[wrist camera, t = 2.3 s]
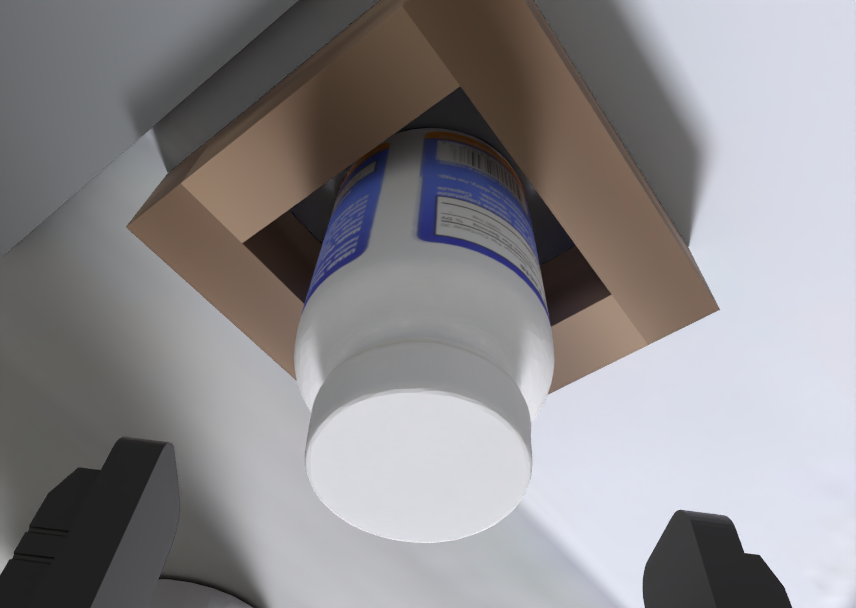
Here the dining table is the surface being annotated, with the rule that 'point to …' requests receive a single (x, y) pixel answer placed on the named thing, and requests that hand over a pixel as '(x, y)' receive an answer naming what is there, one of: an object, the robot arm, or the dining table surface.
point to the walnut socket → (381, 118)
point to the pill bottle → (425, 341)
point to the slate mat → (99, 86)
